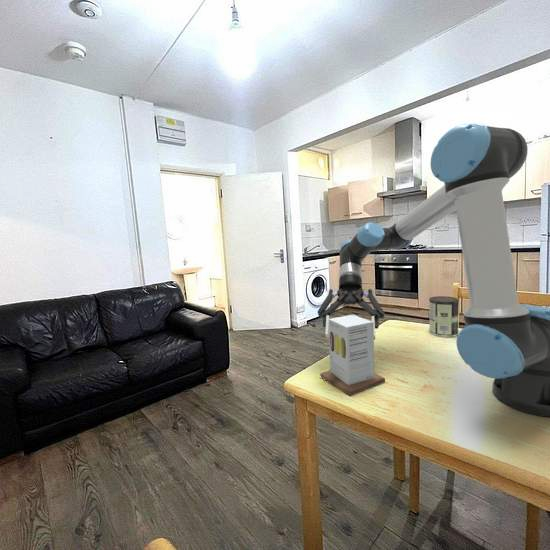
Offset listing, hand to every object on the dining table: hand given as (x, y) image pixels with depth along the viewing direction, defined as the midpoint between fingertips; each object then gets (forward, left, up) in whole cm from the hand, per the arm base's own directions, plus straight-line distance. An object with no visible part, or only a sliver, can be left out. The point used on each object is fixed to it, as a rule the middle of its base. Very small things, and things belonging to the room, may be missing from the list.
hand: (349, 337), depth 90 cm
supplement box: (-3, +2, -11) cm, 11 cm away
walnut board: (-3, +2, -12) cm, 12 cm away
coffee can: (+5, -54, -12) cm, 55 cm away
